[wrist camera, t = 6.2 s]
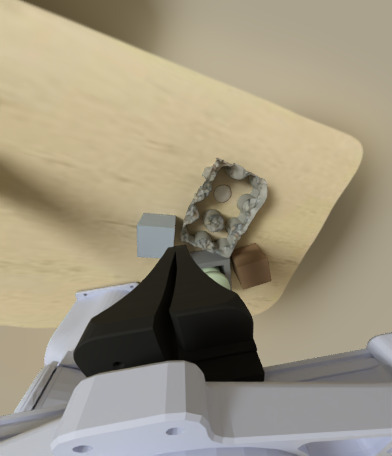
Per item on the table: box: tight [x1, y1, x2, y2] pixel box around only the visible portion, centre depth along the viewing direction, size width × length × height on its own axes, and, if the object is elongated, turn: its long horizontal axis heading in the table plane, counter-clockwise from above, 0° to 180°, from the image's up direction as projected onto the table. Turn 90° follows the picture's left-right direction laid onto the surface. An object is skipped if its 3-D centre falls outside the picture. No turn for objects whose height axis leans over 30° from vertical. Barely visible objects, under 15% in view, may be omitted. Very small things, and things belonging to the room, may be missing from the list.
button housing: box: [189, 250, 232, 291], centre depth 24 cm, size 6×6×3 cm
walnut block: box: [230, 243, 271, 289], centre depth 24 cm, size 4×4×4 cm
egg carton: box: [180, 158, 267, 258], centre depth 20 cm, size 11×8×4 cm
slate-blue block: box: [137, 213, 176, 258], centre depth 21 cm, size 4×4×4 cm
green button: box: [202, 266, 230, 290], centre depth 23 cm, size 5×5×4 cm
